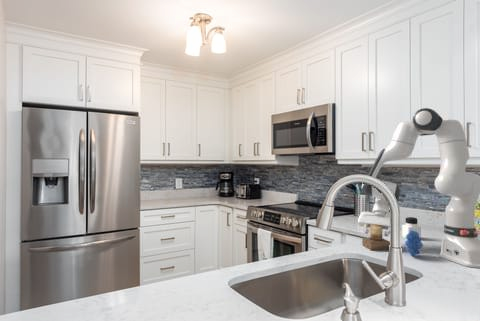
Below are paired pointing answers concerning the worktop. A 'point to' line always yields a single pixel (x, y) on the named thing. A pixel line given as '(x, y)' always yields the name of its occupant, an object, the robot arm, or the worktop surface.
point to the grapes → (413, 243)
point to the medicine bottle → (410, 227)
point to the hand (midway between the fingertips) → (376, 234)
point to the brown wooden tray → (376, 244)
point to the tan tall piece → (375, 232)
